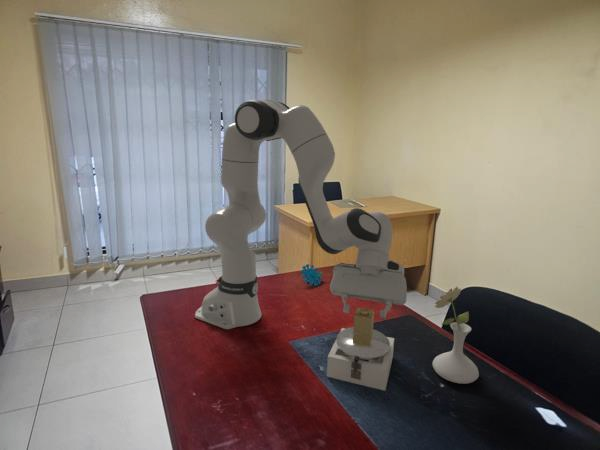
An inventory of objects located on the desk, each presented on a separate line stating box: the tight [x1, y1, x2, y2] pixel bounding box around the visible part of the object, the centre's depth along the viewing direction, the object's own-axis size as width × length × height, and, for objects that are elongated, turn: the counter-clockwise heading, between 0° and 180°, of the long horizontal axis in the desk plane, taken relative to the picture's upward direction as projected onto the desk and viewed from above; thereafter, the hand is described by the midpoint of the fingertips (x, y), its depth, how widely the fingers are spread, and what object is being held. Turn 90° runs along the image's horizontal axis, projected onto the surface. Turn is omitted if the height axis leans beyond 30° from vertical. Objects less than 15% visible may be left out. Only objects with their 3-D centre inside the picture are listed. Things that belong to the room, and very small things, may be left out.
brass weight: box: [353, 307, 375, 346], centre depth 99 cm, size 4×4×9 cm
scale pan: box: [335, 326, 390, 374], centre depth 99 cm, size 14×16×6 cm
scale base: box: [326, 327, 395, 392], centre depth 101 cm, size 15×15×6 cm
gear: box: [300, 264, 323, 287], centre depth 156 cm, size 11×6×10 cm
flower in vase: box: [432, 286, 480, 385], centre depth 96 cm, size 13×11×25 cm
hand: (364, 314), depth 97 cm, fingers open, 8 cm apart
